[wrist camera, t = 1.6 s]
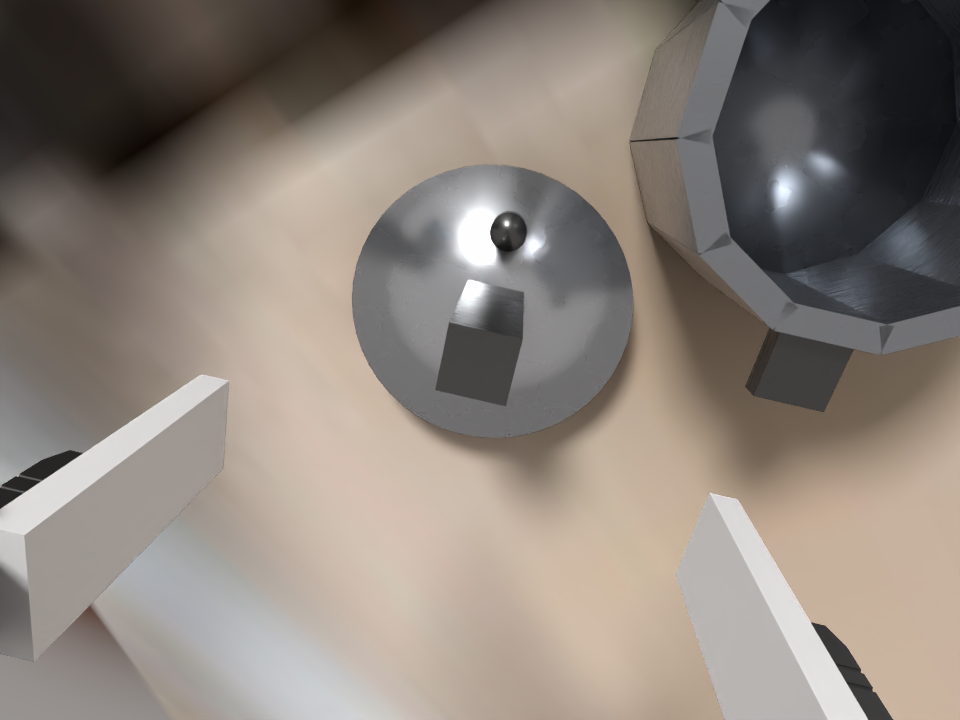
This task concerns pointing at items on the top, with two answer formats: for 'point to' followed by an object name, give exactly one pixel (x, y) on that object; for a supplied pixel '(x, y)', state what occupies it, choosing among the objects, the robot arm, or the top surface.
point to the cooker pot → (812, 174)
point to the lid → (492, 301)
